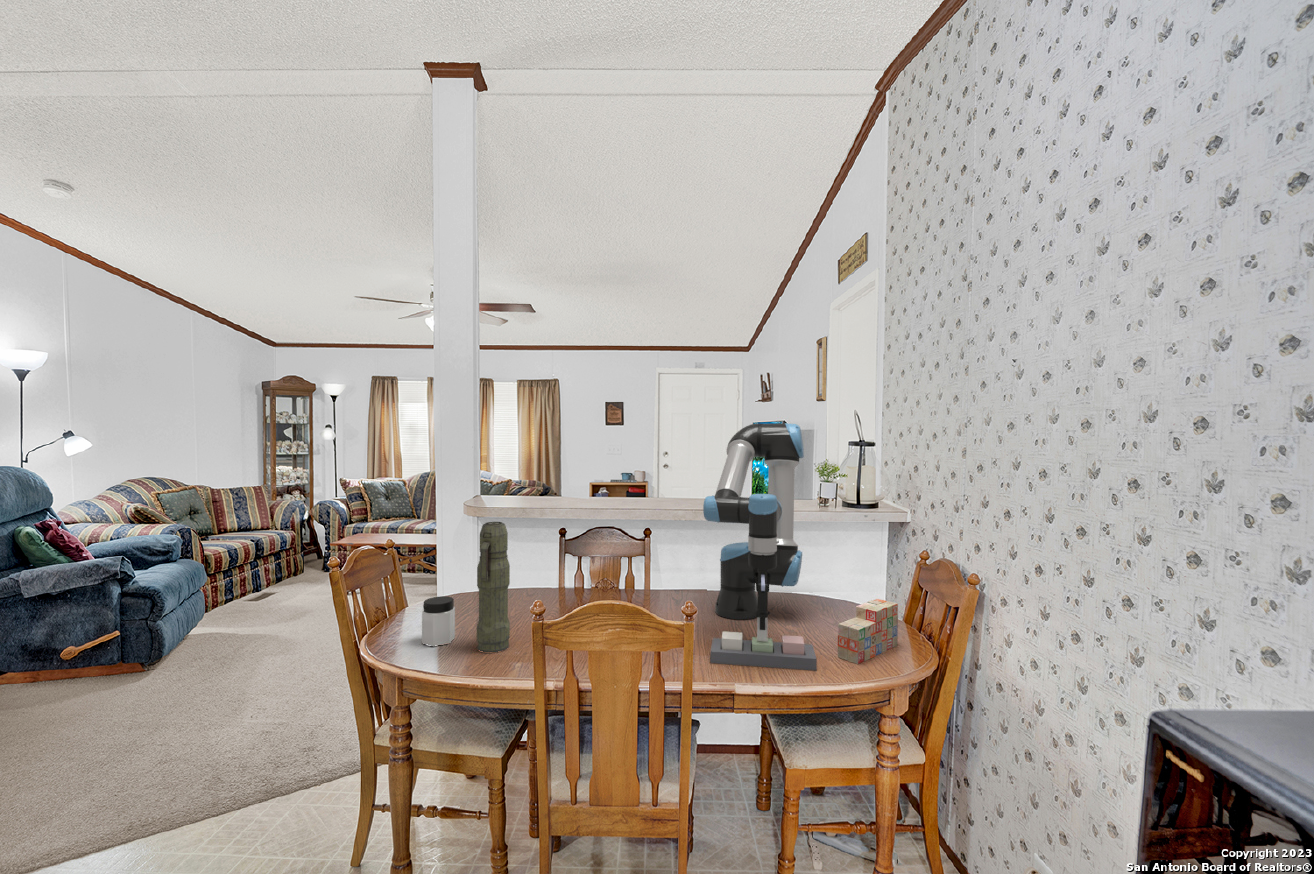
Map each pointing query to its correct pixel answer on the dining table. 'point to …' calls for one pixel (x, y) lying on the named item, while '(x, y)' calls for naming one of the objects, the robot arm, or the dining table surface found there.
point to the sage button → (762, 645)
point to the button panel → (763, 656)
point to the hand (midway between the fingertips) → (762, 640)
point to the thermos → (493, 588)
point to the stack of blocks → (868, 631)
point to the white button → (732, 641)
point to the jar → (438, 620)
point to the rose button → (792, 645)
